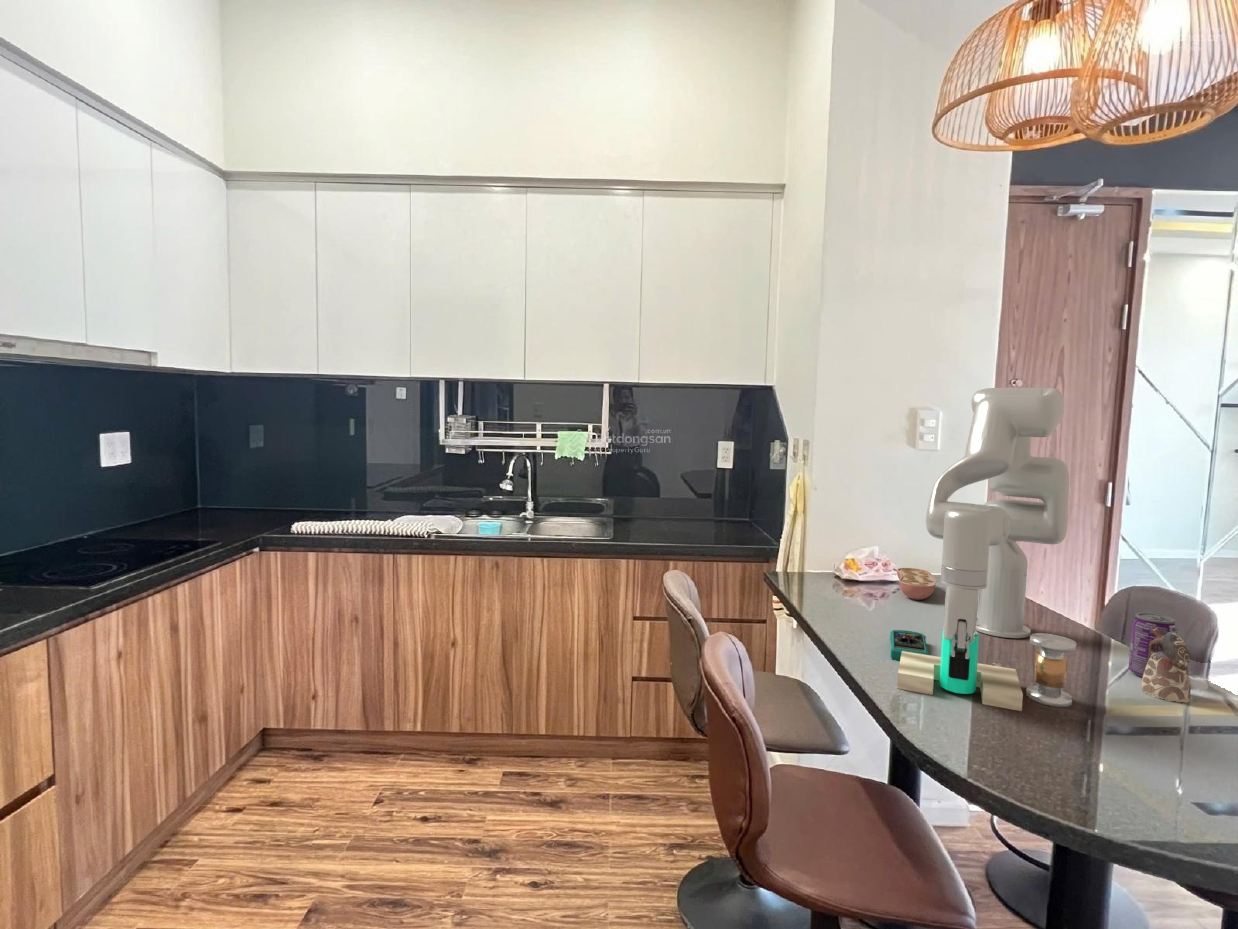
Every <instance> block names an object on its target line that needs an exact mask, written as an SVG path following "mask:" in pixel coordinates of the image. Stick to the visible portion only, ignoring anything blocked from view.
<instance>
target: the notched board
mask: <svg viewBox="0 0 1238 929" xmlns="http://www.w3.org/2000/svg"><path fill="white" fill-rule="evenodd" d="M940 667H941V656H935V655H930V654H929V655H924V654H917V653H911V652H905V651H902V653H901V658H900V661H899V665H898V671H897V681H896V682H897V684H896V687H897V688H896V689H899V690H904V691H909V692H915V693H920V694H924V695H925V694H926V695H930V696H933V695H934V694H933V692H934V681H938V682H940ZM1019 680H1020V679H1019V677H1018V673H1017V670H1016V668H1012V667H1011V668H1010V667H1004V666H998V665H997V666H996V665H991V664H986V663H985V664H984V663H979V662H977V677H976V688H979V689H980V696H981V704H982V705H985V706H991V707H997V708H1003V709H1007V710H1014V711H1018V712H1023V698H1024V697H1023V696H1024V693H1023V691H1022V690H1023V689H1022V688H1021V687H1022V686H1021V682H1020V681H1019Z"/></svg>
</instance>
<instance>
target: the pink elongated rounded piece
mask: <svg viewBox="0 0 1238 929" xmlns="http://www.w3.org/2000/svg"><path fill="white" fill-rule="evenodd" d="M896 574H897V578H898V580H899V587H900V590H901V591H902V593H903V594H904V595H905V596H906V597H907V598H909V599H912V600H914V601H915V600H916V601H922V600H925V599H927V598H929V597H930V596H931V595H932V594H933V593H934V591H935V587H936V583H937V579H936V577H935V576H934V575H933V574H932V573H931V572H930V571H929V570H925V569H920V568H915V567H914V568H913V567H901V568H897V569H896Z"/></svg>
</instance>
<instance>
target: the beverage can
mask: <svg viewBox="0 0 1238 929" xmlns="http://www.w3.org/2000/svg"><path fill="white" fill-rule="evenodd" d="M1156 628H1158V629H1159V630H1160V631H1161V632H1162V633H1163V634H1164V635H1165V634H1166V633H1168V632H1175V633H1176V634H1177V635H1179V632H1178V627H1177V625H1176V619H1174V618H1172V617H1169V616H1167V615H1163V614H1158V613H1157V614H1156V613H1151V612H1137V613H1135V617H1134V619H1133V620H1132V623H1131V634H1130V642H1129V656H1128V665H1127V666H1128V670H1129V671H1131V672H1132V673H1134V674H1135V675H1136V676H1138V677H1141V679H1142V678H1143V674H1144V671H1145V668H1146V665H1147V663H1148V660H1149V659H1150V657H1151V654H1150V650H1149V645H1150V643H1151V642H1152V641H1153V640H1154V639H1156V636H1155V635H1154V633H1153V632H1152V631H1153V630H1154V629H1156ZM1155 649H1156V651H1158V652H1160V651H1162V648H1161V646H1160V645H1156V646H1155Z"/></svg>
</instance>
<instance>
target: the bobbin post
mask: <svg viewBox="0 0 1238 929" xmlns="http://www.w3.org/2000/svg"><path fill="white" fill-rule="evenodd" d="M1029 643H1030V644H1032V645H1033V646H1035V647H1038V648H1040V650H1038V651H1036V652H1035V661H1034V662H1035V665H1034V666H1035V667H1034V676H1033V677H1034V680H1033V681H1034V682H1035V683H1037V685H1029V686H1027V687H1026V691H1025V695H1026V697H1027V696H1028V697H1027V698H1028V699H1030V700H1032V701H1033V702H1036V703H1039V704H1041V705H1045V706H1048V705H1049V707H1055V708H1068V707H1071V706H1072V705H1073V697H1072V695H1071V694H1070V693H1068V692H1066V691H1064V690H1063V689H1064V688H1066V686H1067V675H1068V674H1067V671H1068V659H1069V658H1068V657H1067V656H1066V655H1065V653H1069V652H1070V653H1071V652H1072V653H1073V652H1075V651H1076V650H1077V641H1075V640H1073V639H1071V638H1068V637H1066V636H1061V635H1058V634H1054V633H1053V634H1052V633H1044V632H1037V633H1031V635H1030V636H1029Z"/></svg>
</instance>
